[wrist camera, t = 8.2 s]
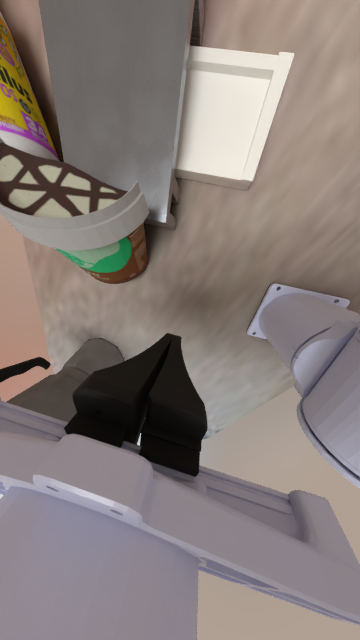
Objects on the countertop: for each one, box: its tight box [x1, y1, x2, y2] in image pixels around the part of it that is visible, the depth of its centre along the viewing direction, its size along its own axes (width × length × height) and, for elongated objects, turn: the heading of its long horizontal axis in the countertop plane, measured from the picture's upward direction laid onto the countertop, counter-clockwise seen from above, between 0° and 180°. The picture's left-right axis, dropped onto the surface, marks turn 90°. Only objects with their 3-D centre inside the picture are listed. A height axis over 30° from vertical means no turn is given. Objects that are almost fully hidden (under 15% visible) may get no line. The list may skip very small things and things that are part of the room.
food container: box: [0, 138, 149, 284], centre depth 13 cm, size 12×6×10 cm
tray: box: [174, 46, 295, 190], centre depth 12 cm, size 12×6×2 cm, turn 79°
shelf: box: [39, 0, 204, 230], centre depth 11 cm, size 10×16×4 cm, turn 169°
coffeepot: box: [0, 339, 124, 423], centre depth 21 cm, size 15×9×18 cm, turn 37°
